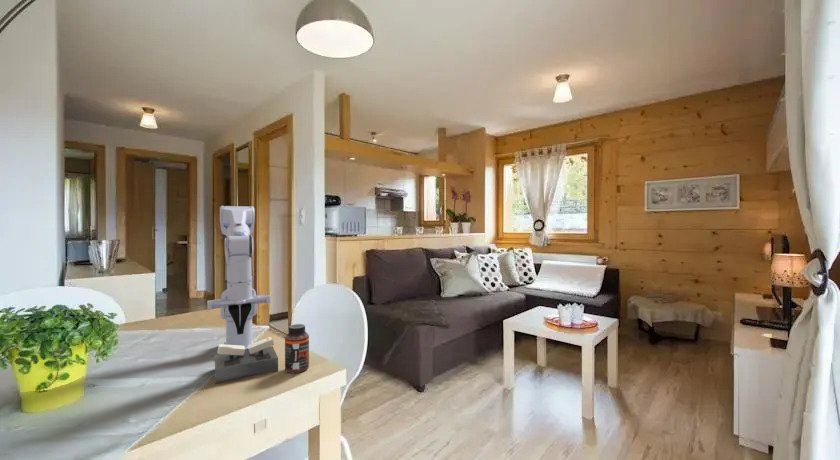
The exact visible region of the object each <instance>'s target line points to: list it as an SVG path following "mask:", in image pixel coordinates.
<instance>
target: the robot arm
mask: <svg viewBox="0 0 840 460" xmlns="http://www.w3.org/2000/svg"><path fill="white" fill-rule="evenodd" d="M255 212H256V211H255V207H254V206H253V205H251V206H243V205H242V206H241V205H240V206H239V205H237V206H235V205H233V206H231V205H225V206H224V205H221V206H219V224H220V231H221V234H223V235H224V236H226V237H225V238H224V256H225V262H226V263H225V264H226V265H227V267H226V289H225V290H223V291H222V293H221V294H220V298H218V299H212V300H210V299H209V300H207V303H206V304H207V306H206V307H207V308H206V309H207V310H209V311H210V310H213V309H220V318H221V319H222V320H224V321H225V342H223V344H225V345H241V346H244V347H245V351H246V350H249V349H248V345H249V344H252V343H255V342H254V340H253V317H254V316H255V315H257V313H258V305H259V304H260V305H262V304H271V295H270V294H263V295H261V294H260V295H258V294H257V292H256V289H254V288H253V287H252V284H253V283H252V281H253V277H252V274H253V273H252V271H253V270H252V257H253V254H254V238H253V235H252V234H253V233H254V230H255V223H256V221H255V220H256V217H255V216H256V215H255V214H256V213H255Z"/></svg>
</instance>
